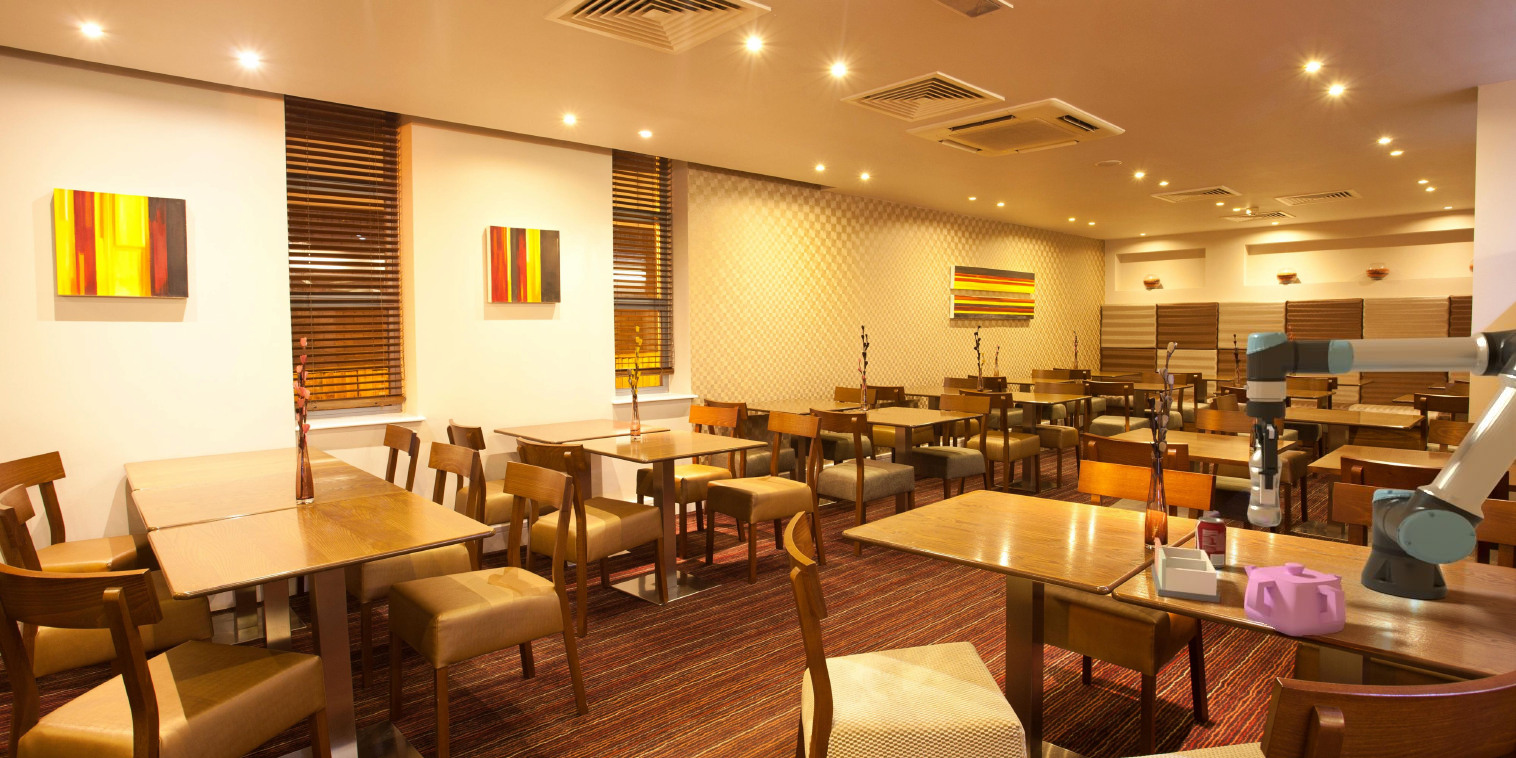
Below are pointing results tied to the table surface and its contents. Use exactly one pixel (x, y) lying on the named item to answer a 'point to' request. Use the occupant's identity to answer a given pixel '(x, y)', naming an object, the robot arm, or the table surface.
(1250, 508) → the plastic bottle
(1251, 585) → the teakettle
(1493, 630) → the table surface
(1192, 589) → the socket board
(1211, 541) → the soda can
